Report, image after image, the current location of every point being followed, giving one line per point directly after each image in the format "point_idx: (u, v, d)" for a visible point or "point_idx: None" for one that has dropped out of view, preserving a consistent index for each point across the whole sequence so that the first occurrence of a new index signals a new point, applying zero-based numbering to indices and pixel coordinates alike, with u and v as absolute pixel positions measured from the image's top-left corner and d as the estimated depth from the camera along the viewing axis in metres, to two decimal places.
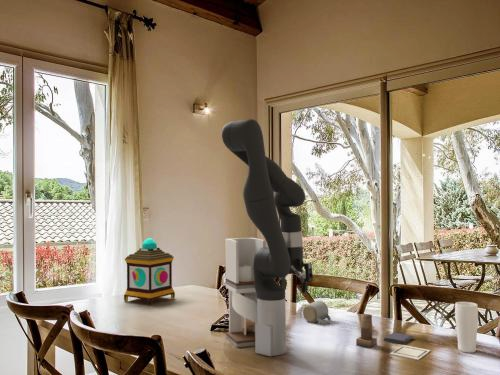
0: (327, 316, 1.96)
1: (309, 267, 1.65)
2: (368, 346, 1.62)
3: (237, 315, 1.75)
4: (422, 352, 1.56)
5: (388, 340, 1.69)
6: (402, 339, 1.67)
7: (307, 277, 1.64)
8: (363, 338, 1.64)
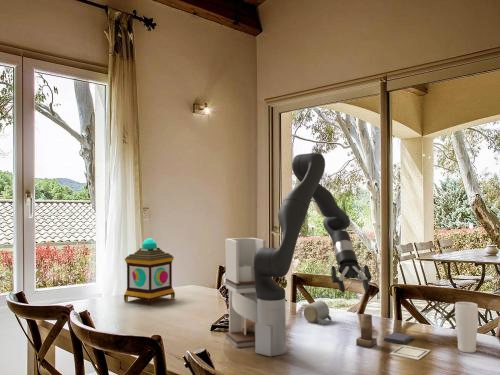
0: (328, 316, 1.96)
1: None
2: (368, 346, 1.62)
3: (237, 315, 1.75)
4: (422, 352, 1.56)
5: (388, 340, 1.69)
6: (402, 339, 1.67)
7: (369, 275, 1.81)
8: (363, 338, 1.64)
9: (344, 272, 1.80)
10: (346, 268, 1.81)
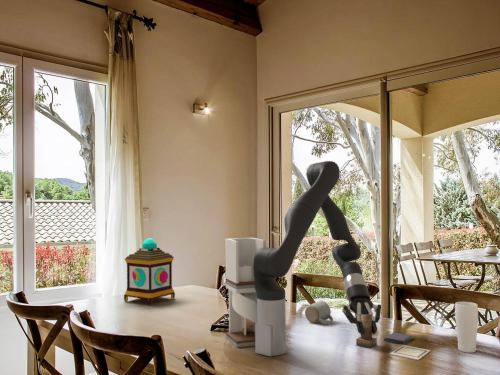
0: (329, 316, 1.95)
1: None
2: (368, 346, 1.62)
3: (237, 315, 1.75)
4: (422, 352, 1.56)
5: (388, 340, 1.69)
6: (402, 339, 1.67)
7: (378, 315, 1.67)
8: (363, 338, 1.64)
9: (359, 310, 1.67)
10: (358, 305, 1.68)
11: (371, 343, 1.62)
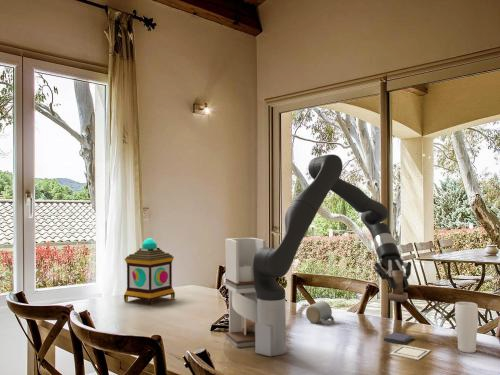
0: (330, 317, 1.95)
1: None
2: (400, 300, 1.68)
3: (237, 315, 1.75)
4: (422, 352, 1.56)
5: (388, 340, 1.69)
6: (402, 339, 1.67)
7: (409, 271, 1.73)
8: (395, 293, 1.70)
9: (390, 267, 1.73)
10: (389, 262, 1.75)
11: (403, 297, 1.69)
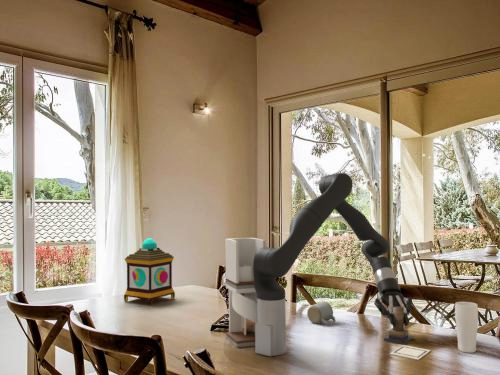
0: (332, 317, 1.94)
1: None
2: (400, 337, 1.68)
3: (237, 315, 1.75)
4: (422, 352, 1.56)
5: (388, 340, 1.69)
6: (402, 339, 1.67)
7: (409, 308, 1.73)
8: (395, 329, 1.70)
9: (390, 303, 1.73)
10: (390, 298, 1.74)
11: (403, 334, 1.68)
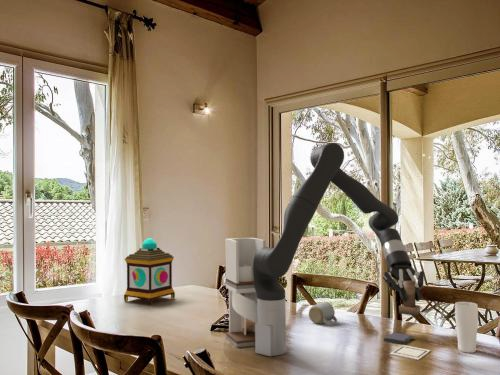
0: (333, 317, 1.94)
1: None
2: (412, 313, 1.54)
3: (237, 315, 1.75)
4: (422, 352, 1.56)
5: (388, 340, 1.69)
6: (402, 339, 1.67)
7: (421, 282, 1.59)
8: (406, 305, 1.56)
9: (401, 277, 1.59)
10: (400, 271, 1.60)
11: (415, 310, 1.54)
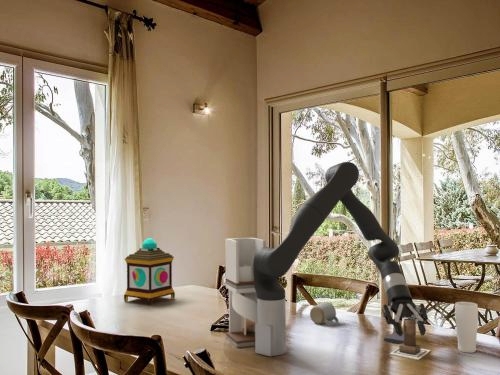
0: (334, 318, 1.93)
1: None
2: (412, 353, 1.54)
3: (237, 315, 1.75)
4: (422, 352, 1.56)
5: (388, 340, 1.69)
6: (402, 339, 1.67)
7: (425, 315, 1.59)
8: (407, 344, 1.56)
9: (399, 311, 1.59)
10: (400, 306, 1.60)
11: (415, 350, 1.54)
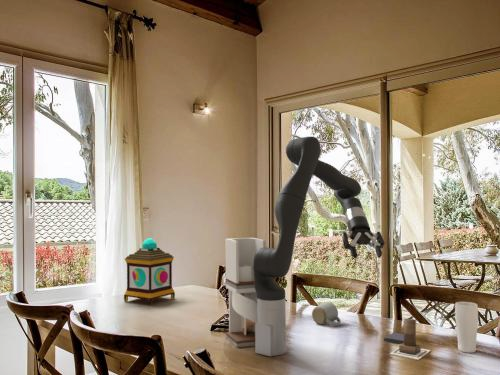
0: (337, 318, 1.93)
1: None
2: (412, 353, 1.54)
3: (237, 315, 1.75)
4: (422, 352, 1.56)
5: (388, 340, 1.69)
6: (402, 339, 1.67)
7: (382, 241, 1.75)
8: (407, 344, 1.56)
9: (356, 238, 1.75)
10: (358, 234, 1.76)
11: (415, 350, 1.54)
